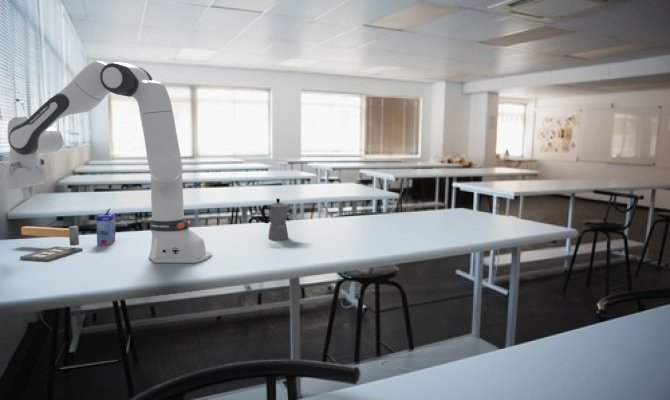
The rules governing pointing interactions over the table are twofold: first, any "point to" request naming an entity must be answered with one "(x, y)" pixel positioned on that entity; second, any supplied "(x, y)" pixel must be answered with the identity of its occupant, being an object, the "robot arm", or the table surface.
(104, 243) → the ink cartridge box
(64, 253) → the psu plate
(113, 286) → the table surface
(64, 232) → the hammer
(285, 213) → the coffeepot
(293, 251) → the table surface
